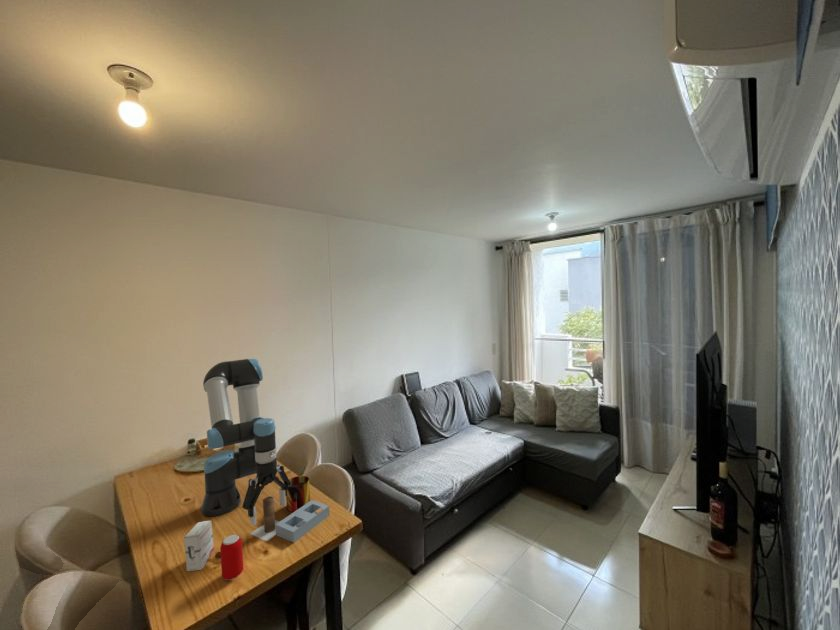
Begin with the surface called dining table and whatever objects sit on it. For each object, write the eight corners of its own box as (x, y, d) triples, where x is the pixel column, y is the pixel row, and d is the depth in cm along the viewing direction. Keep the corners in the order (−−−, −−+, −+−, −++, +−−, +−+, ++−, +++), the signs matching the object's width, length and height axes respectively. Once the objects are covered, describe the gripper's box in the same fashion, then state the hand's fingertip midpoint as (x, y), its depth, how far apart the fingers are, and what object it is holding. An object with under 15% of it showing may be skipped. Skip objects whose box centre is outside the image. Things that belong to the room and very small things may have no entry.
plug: (262, 531, 130) (260, 500, 130) (270, 525, 133) (269, 495, 133) (268, 533, 128) (266, 502, 128) (277, 528, 132) (275, 497, 131)
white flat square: (250, 536, 129) (249, 533, 129) (272, 521, 138) (272, 518, 138) (266, 544, 124) (266, 541, 124) (289, 528, 133) (289, 525, 133)
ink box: (200, 553, 121) (198, 521, 120) (214, 552, 121) (212, 519, 121) (185, 572, 112) (183, 537, 112) (201, 570, 112) (199, 535, 112)
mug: (295, 523, 136) (293, 493, 136) (283, 508, 146) (282, 481, 146) (317, 512, 142) (316, 484, 142) (305, 499, 153) (304, 473, 153)
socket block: (276, 537, 128) (275, 523, 127) (312, 511, 143) (311, 499, 143) (294, 545, 123) (293, 531, 123) (329, 517, 138) (329, 505, 138)
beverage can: (233, 566, 114) (231, 531, 113) (247, 569, 112) (246, 534, 112) (217, 580, 108) (215, 543, 108) (232, 584, 106) (230, 547, 106)
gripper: (241, 476, 118) (245, 536, 118) (298, 449, 139) (300, 500, 140) (229, 471, 122) (232, 530, 122) (285, 446, 143) (288, 496, 143)
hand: (268, 514), depth 131 cm, fingers open, 12 cm apart
